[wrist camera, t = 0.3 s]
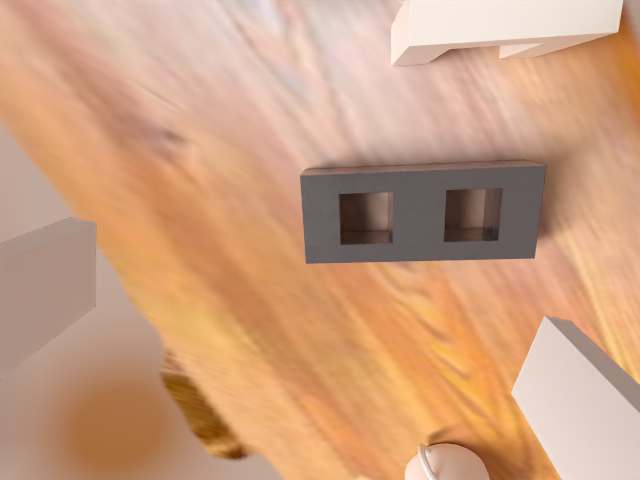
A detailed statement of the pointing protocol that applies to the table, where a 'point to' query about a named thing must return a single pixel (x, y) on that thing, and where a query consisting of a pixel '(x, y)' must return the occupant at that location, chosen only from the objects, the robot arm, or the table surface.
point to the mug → (445, 464)
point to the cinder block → (424, 212)
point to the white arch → (498, 26)
